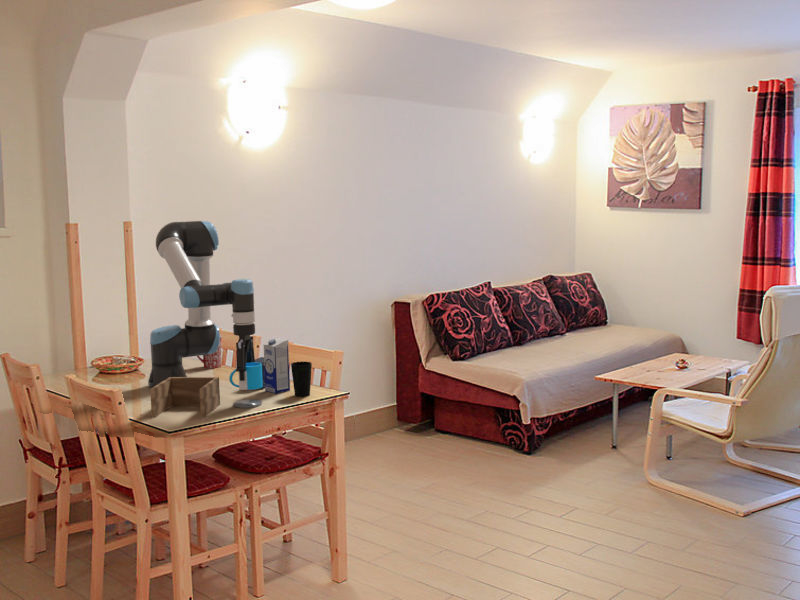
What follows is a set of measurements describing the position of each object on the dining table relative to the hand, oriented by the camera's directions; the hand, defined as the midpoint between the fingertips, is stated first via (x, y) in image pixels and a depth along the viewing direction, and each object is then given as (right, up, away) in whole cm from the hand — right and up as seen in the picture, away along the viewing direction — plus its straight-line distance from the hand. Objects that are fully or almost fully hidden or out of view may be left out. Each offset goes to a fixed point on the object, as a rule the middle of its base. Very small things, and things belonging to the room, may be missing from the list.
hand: (246, 386), depth 285 cm
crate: (-20, -8, -6) cm, 22 cm away
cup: (+18, -5, +13) cm, 23 cm away
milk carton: (+8, -4, +21) cm, 23 cm away
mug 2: (0, -1, -1) cm, 1 cm away
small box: (0, -3, +30) cm, 30 cm away
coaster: (0, -7, +1) cm, 7 cm away
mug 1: (-30, +1, +67) cm, 73 cm away
